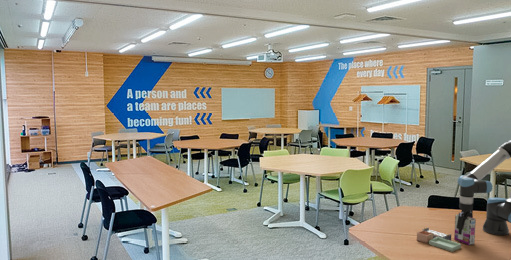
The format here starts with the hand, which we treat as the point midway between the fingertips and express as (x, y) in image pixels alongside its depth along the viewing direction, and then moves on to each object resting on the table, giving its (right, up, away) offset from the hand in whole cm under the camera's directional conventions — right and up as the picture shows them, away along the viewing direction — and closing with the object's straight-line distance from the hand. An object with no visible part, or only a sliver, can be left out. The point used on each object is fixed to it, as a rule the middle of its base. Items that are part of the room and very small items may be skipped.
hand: (464, 237), depth 247 cm
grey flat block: (-14, 0, +7) cm, 16 cm away
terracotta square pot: (-24, -3, +2) cm, 24 cm away
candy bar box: (0, -3, 0) cm, 3 cm away
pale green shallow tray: (-16, -3, -6) cm, 17 cm away
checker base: (-14, -2, +7) cm, 16 cm away
